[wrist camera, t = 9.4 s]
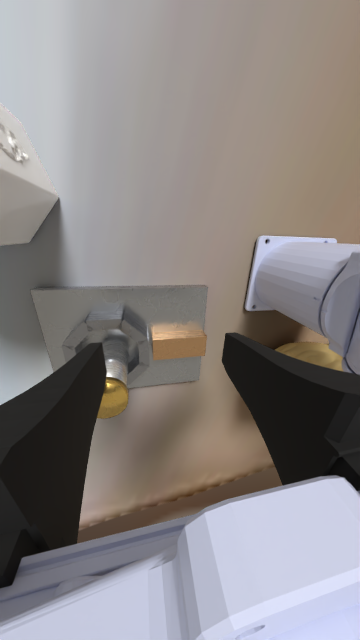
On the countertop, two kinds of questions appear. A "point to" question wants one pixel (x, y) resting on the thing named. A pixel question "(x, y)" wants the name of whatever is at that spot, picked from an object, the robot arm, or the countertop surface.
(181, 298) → the rosette plate
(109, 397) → the gold-capped vial
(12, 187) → the jar
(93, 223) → the countertop surface
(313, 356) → the sculpture
